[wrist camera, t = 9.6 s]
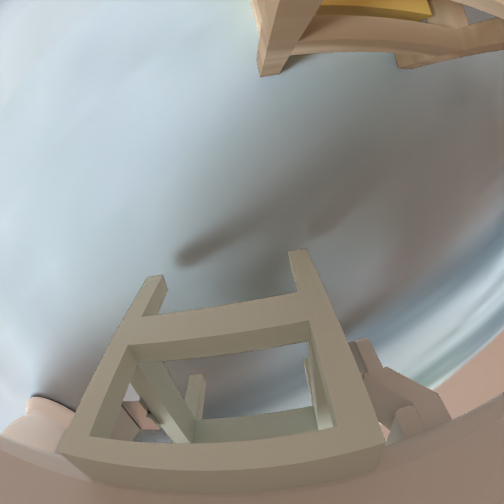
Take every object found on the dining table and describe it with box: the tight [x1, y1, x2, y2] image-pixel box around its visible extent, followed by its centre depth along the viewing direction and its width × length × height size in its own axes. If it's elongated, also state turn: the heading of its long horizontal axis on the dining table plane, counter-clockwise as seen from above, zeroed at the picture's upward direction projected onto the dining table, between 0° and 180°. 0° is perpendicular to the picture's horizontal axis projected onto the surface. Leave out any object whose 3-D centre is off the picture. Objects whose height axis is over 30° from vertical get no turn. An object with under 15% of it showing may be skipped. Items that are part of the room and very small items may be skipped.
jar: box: [1, 397, 75, 453], centre depth 12 cm, size 11×10×15 cm
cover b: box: [58, 248, 386, 494], centre depth 9 cm, size 6×6×8 cm
